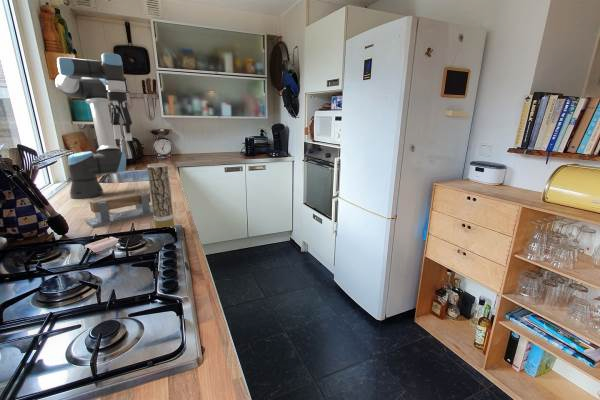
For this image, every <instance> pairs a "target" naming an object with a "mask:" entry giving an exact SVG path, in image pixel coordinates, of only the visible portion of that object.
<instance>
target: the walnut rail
mask: <svg viewBox="0 0 600 400" xmlns="http://www.w3.org/2000/svg"><path fill="white" fill-rule="evenodd" d="M136 193H137V192H136ZM141 195H148V198H149V203H152V199H151V192H150V193H149V192H147V191H144V192H142V193H137V194H134V193H131V194H125V195H121V196H119V195H118V196H113V197H108V198H107V197H105V198H101V199H100V198H99V199H100V200H94V199H93V200H94V201H93V200H90V201H89V205H90V206H89V207H90V211H91V212H92V213H94V214H95V213H96V212H99V208H98V203H100V202H107V205H108V210H109V211H110V210H111V211H112V210H117V209H123V208H126V207H131V206H136V205H138V204H141V199H140V196H141Z"/></svg>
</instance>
